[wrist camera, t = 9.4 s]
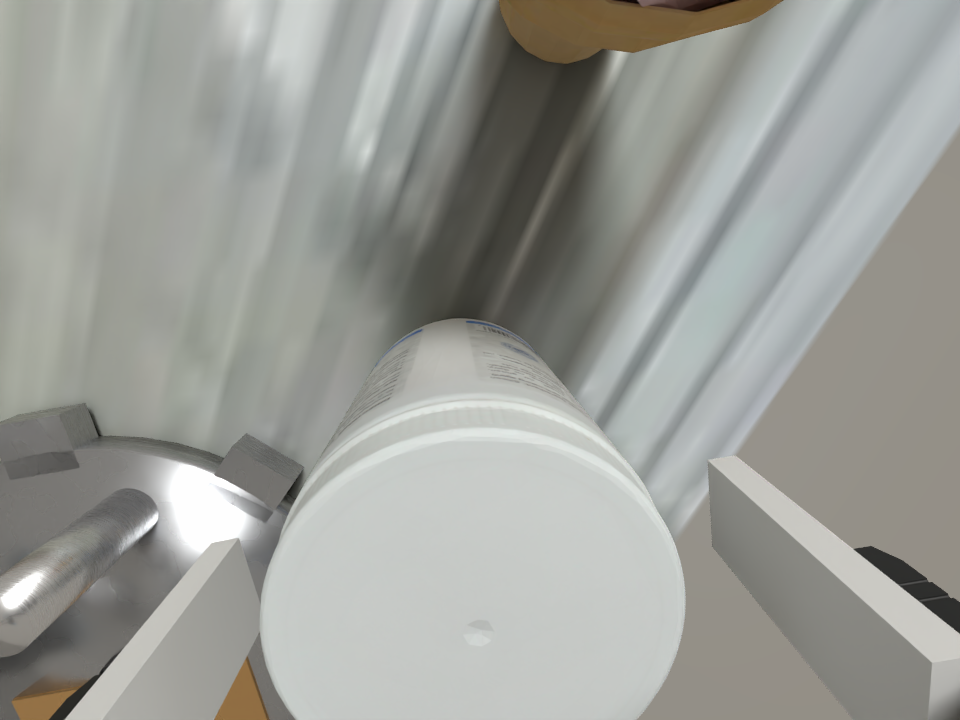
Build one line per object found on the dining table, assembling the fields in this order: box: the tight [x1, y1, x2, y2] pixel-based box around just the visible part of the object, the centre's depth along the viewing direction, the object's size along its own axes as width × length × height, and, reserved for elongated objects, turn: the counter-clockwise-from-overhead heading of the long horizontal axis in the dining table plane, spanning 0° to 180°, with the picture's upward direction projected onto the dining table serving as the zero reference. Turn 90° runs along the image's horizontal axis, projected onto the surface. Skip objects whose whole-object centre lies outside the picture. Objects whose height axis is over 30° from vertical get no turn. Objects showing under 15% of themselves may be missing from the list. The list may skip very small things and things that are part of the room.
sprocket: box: [0, 403, 304, 720], centre depth 22 cm, size 27×27×9 cm
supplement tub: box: [260, 318, 685, 720], centre depth 17 cm, size 10×10×15 cm
